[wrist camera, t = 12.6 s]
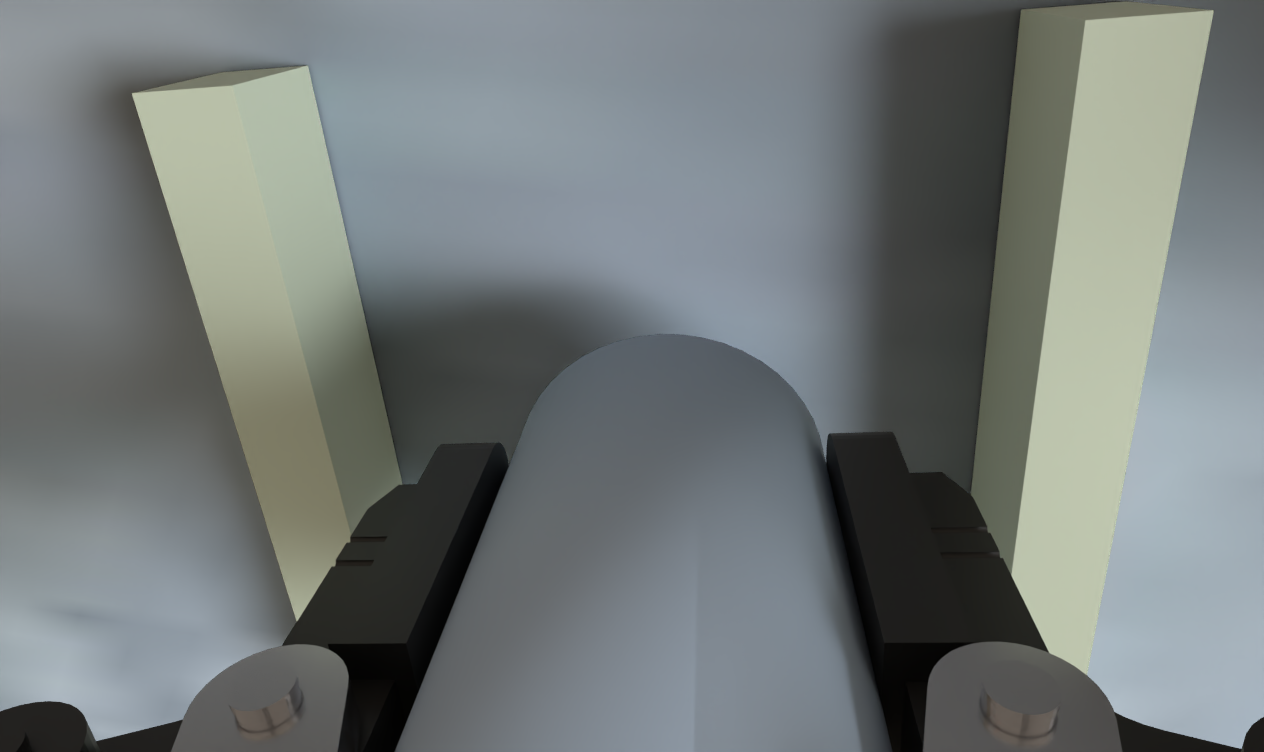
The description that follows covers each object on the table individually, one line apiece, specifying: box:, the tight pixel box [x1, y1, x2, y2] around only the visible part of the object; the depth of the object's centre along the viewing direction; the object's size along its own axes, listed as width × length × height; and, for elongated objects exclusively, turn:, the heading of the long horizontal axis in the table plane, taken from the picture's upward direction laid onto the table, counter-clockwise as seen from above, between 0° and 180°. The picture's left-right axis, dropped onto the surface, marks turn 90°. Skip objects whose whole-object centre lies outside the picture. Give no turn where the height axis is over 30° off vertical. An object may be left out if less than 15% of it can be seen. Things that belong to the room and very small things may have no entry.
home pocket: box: [132, 1, 1214, 675], centre depth 12 cm, size 11×11×2 cm
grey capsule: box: [395, 334, 892, 752], centre depth 8 cm, size 4×4×7 cm
